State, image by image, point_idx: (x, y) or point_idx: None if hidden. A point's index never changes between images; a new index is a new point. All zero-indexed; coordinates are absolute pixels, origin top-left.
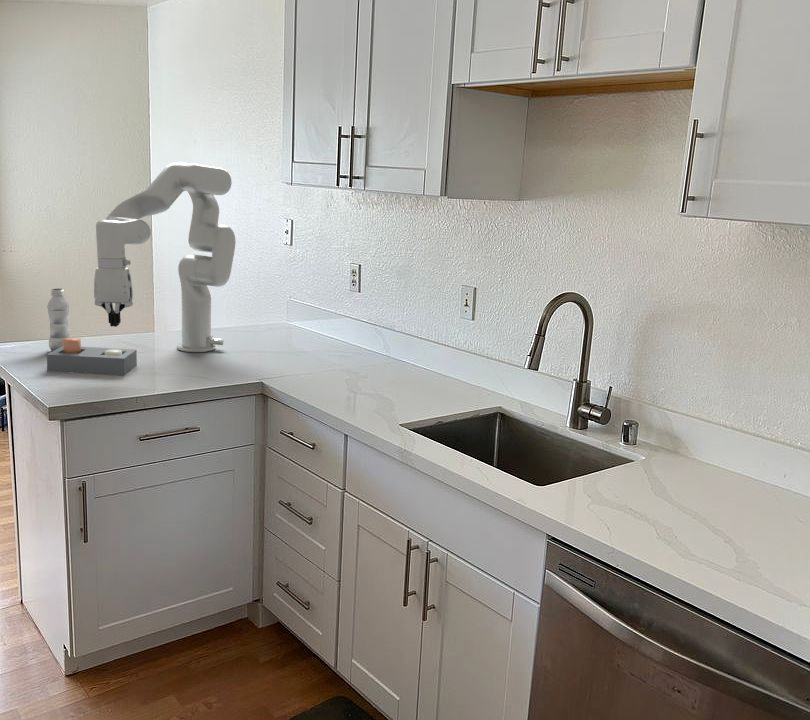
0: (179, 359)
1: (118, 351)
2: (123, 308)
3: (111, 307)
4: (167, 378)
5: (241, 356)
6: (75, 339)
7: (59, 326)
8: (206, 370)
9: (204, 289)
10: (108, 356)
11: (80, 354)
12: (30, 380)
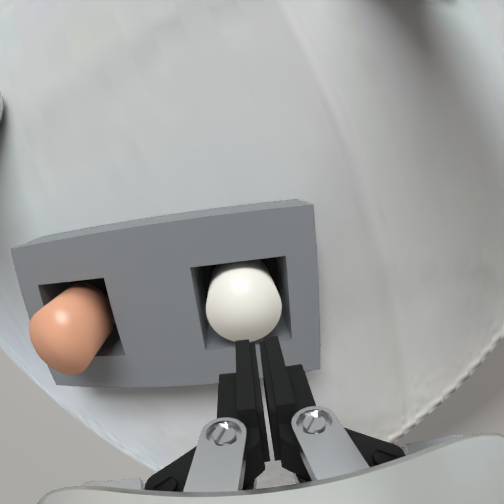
0: (394, 73)
1: (267, 306)
2: (367, 443)
3: (234, 461)
4: (423, 319)
5: (495, 37)
6: (70, 342)
7: None
8: (487, 201)
9: None
10: None
11: (138, 364)
12: (107, 429)
